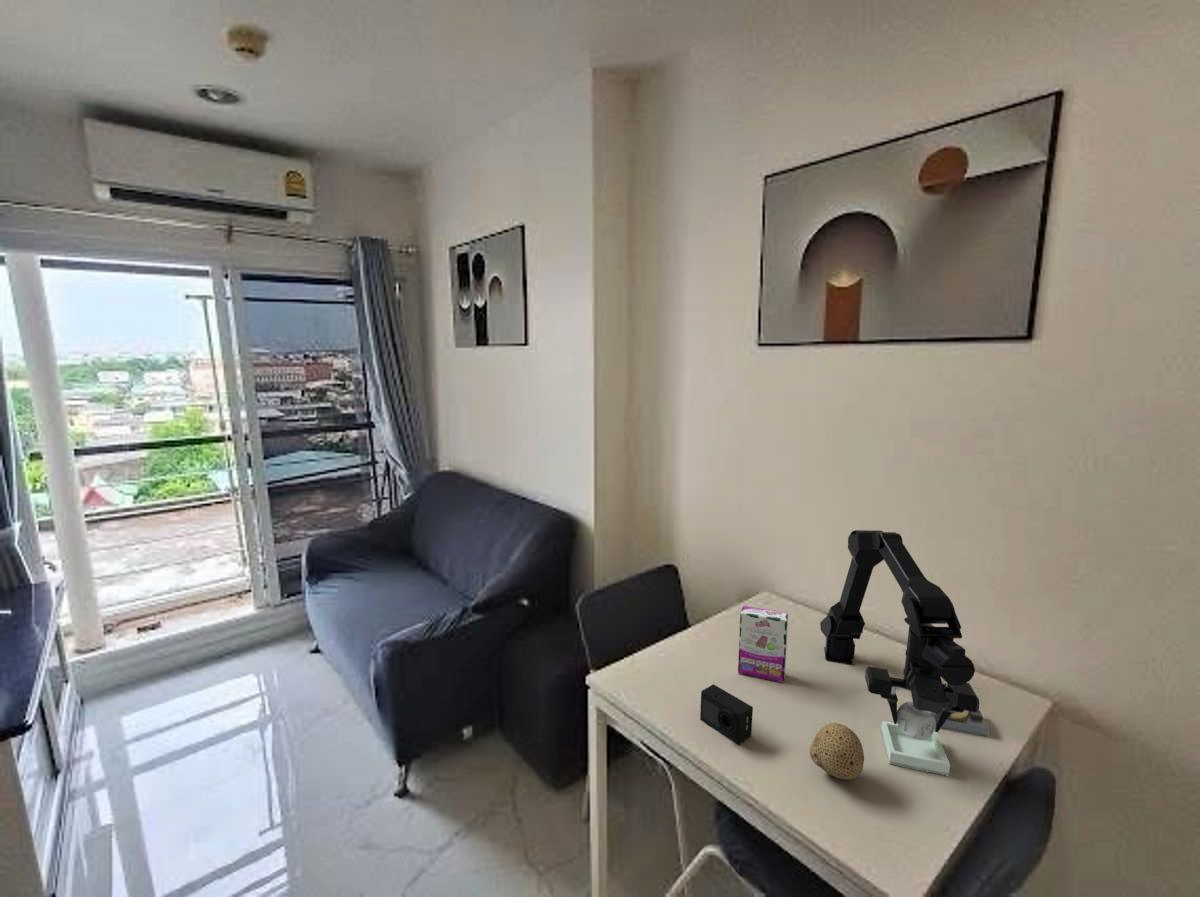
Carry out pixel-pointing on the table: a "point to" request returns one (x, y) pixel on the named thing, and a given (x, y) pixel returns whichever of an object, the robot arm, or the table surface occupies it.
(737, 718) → the digital camera
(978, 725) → the call bell
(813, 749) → the natural sponge
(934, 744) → the tray
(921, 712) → the die
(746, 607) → the candy bar box
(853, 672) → the table surface
